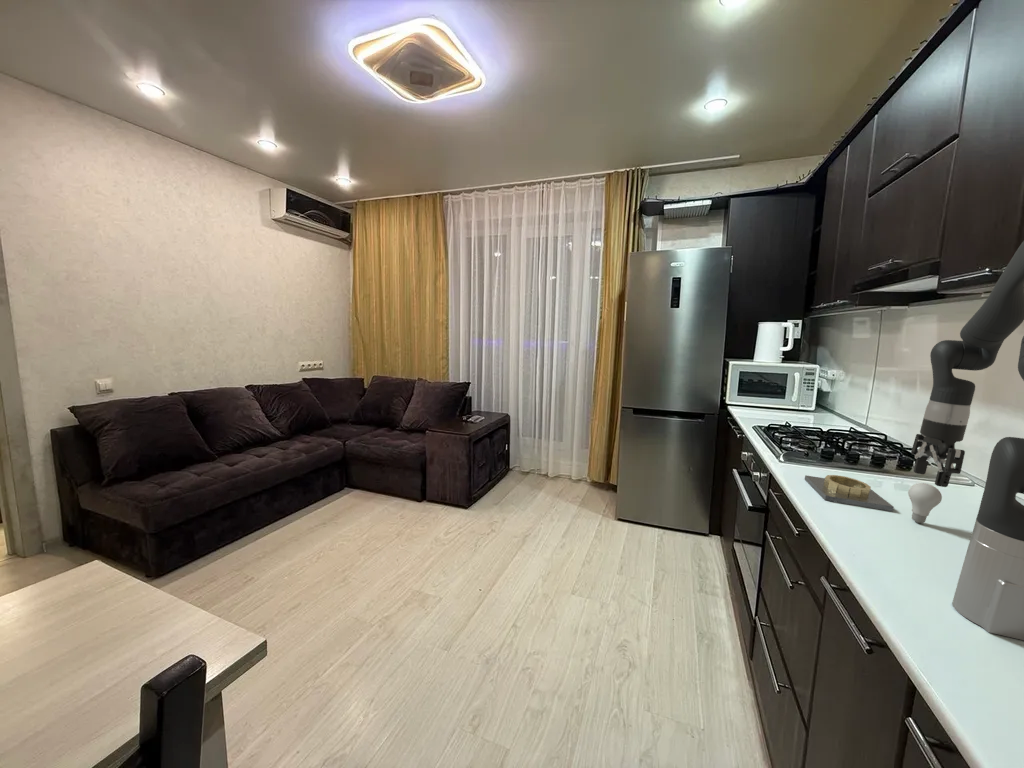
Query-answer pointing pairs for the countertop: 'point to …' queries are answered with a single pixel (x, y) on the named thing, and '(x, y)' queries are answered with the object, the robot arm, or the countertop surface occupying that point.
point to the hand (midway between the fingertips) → (929, 479)
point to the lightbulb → (923, 500)
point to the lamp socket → (847, 492)
